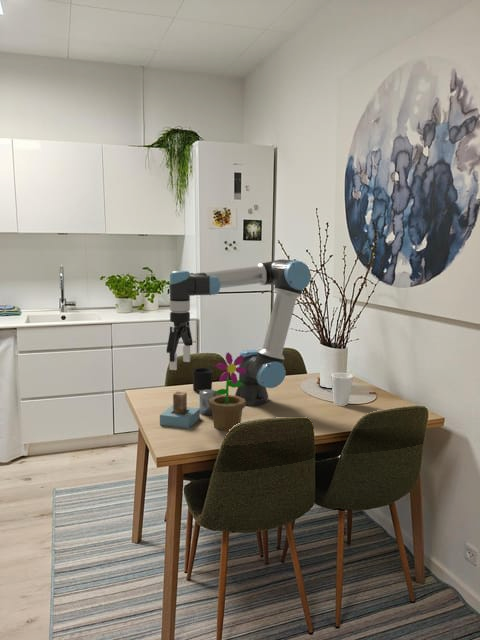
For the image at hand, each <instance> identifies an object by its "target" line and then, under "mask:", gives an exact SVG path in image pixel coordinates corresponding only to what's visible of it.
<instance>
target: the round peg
mask: <svg viewBox="0 0 480 640" xmlns="http://www.w3.org/2000/svg"><path fill="white" fill-rule="evenodd" d="M216 391H217V390H215V389H212V390H201V391H200V393H199V408H200V415H202V416H213V415H212V409H211V408H209V399H210V398H212V397H215V396H217V394H216Z"/></svg>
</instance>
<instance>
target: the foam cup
mask: <svg viewBox="0 0 480 640" xmlns="http://www.w3.org/2000/svg"><path fill="white" fill-rule="evenodd" d="M330 376H331V381H332V389H331V390H332V399H333V401H332V402H333V405H335V404H336V405H335V406H337V405H340V406H339V407H346V406H345V405H347V404H348V405H349V403H350V402H349V401H350V397H351V391H352V385H353V381H354V375H353V374H351V373H347V372H346V373H345V372H334V373H331V375H330ZM348 405H347V406H348Z"/></svg>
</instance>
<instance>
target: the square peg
mask: <svg viewBox="0 0 480 640" xmlns="http://www.w3.org/2000/svg"><path fill="white" fill-rule="evenodd" d="M187 393H188V392H187V391H186V392H185V391H176V392H174V393H173V395H172V401H173V402H172V405H173V414H181V415H185V414H186V413H187V407H188V406H187V405H188V403H187V400H188V398H187V397H188V396H187Z"/></svg>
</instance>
